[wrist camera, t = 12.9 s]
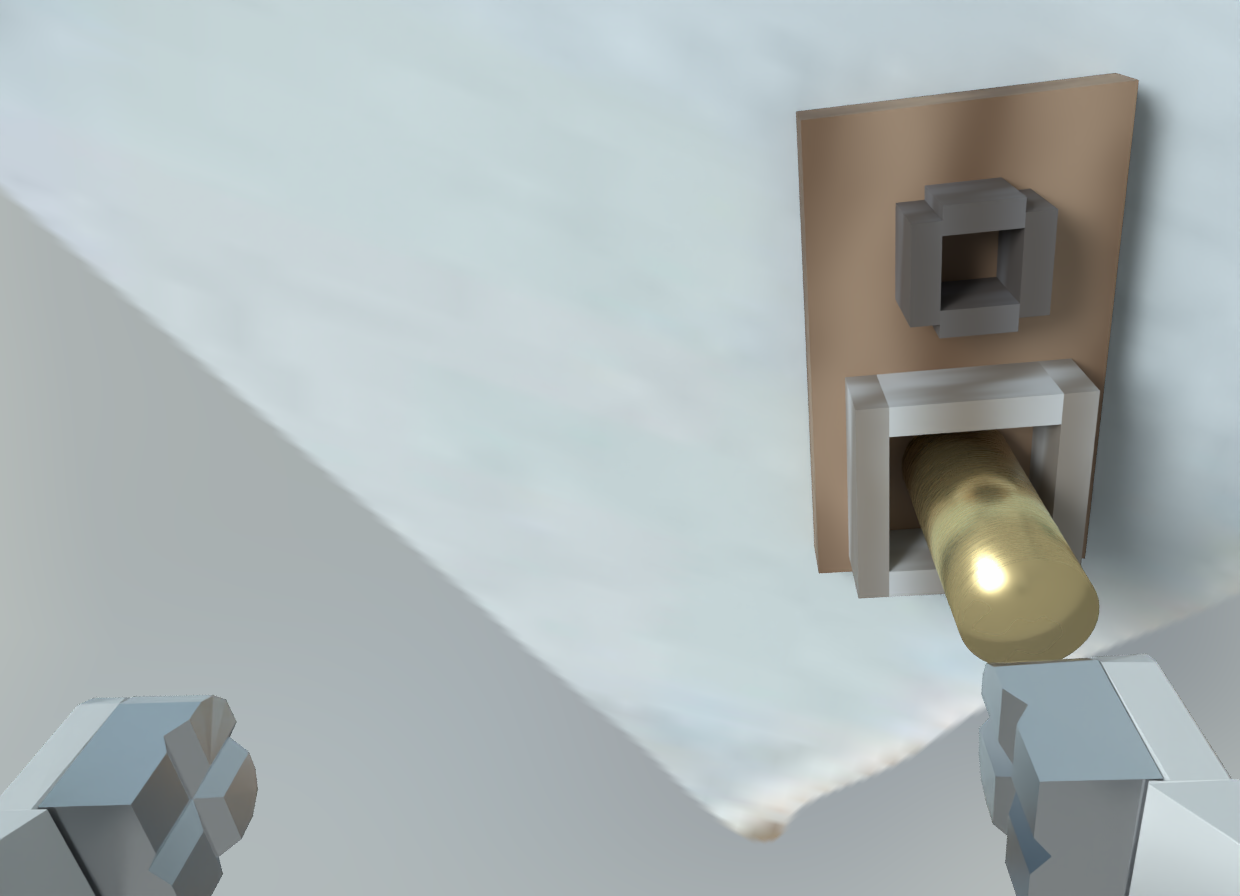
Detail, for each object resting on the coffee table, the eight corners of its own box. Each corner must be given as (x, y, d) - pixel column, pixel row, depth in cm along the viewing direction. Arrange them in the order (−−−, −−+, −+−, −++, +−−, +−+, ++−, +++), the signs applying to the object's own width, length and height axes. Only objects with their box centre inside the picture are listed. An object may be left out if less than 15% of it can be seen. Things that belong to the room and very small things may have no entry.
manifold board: (1115, 72, 33) (1178, 92, 29) (1069, 532, 42) (1111, 601, 37) (795, 111, 35) (808, 135, 30) (814, 547, 43) (826, 615, 39)
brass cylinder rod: (1012, 411, 37) (1105, 556, 28) (1006, 503, 39) (1092, 666, 30) (901, 420, 38) (959, 564, 29) (901, 510, 40) (955, 671, 31)
